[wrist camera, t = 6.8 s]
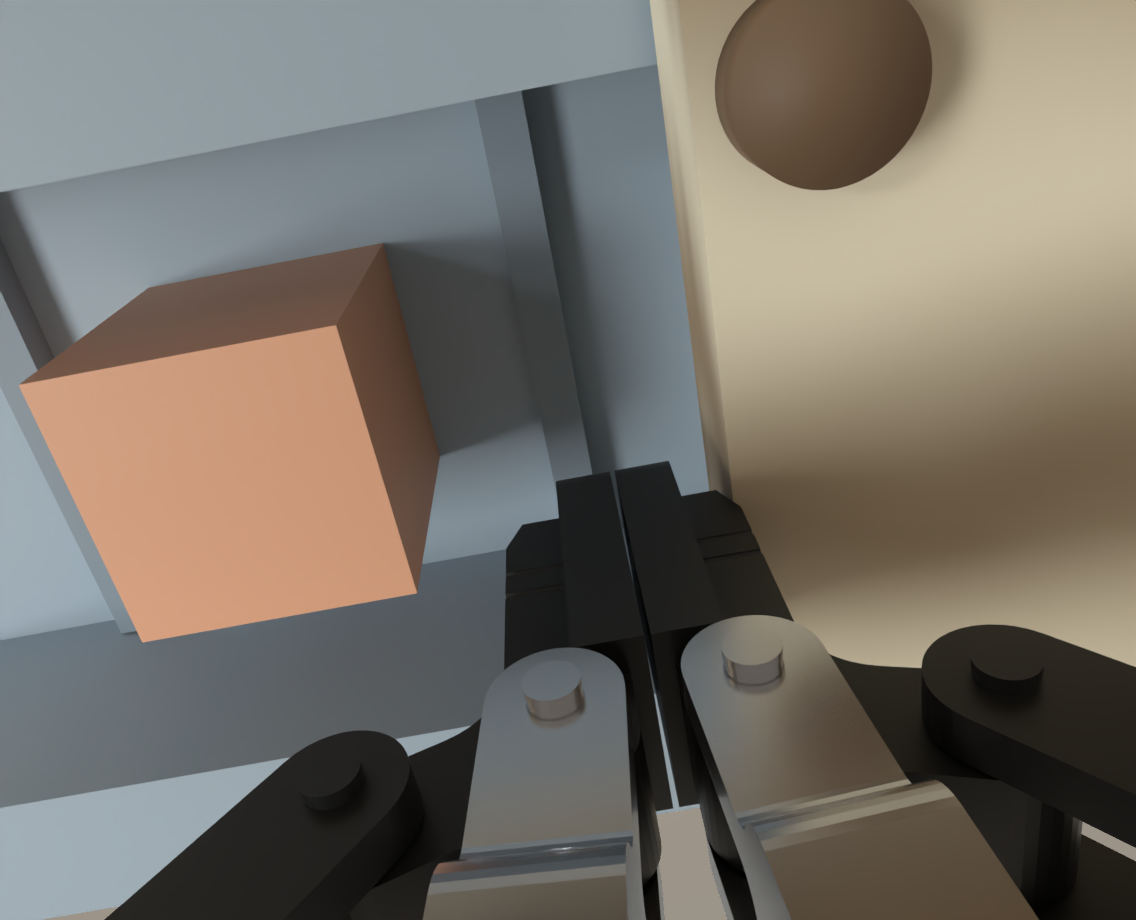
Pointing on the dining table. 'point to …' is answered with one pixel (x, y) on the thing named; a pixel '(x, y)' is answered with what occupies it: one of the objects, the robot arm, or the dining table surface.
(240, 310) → the block
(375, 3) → the stand
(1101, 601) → the lid
